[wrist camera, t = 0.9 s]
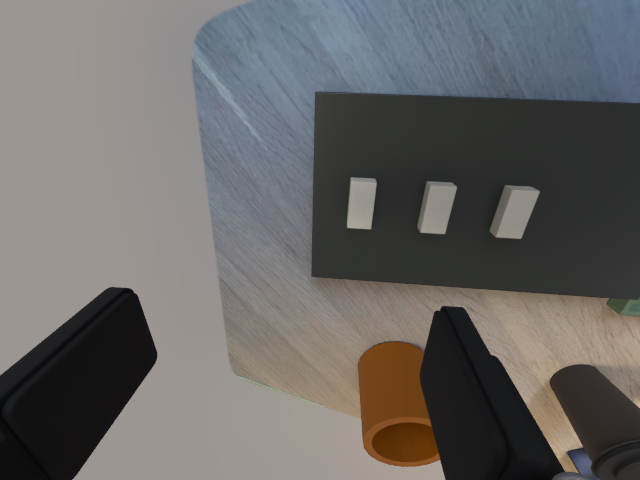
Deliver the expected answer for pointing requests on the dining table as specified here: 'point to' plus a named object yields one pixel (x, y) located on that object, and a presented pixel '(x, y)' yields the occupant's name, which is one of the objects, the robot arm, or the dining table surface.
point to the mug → (395, 406)
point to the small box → (582, 462)
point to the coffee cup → (601, 421)
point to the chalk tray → (625, 306)
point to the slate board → (481, 192)
